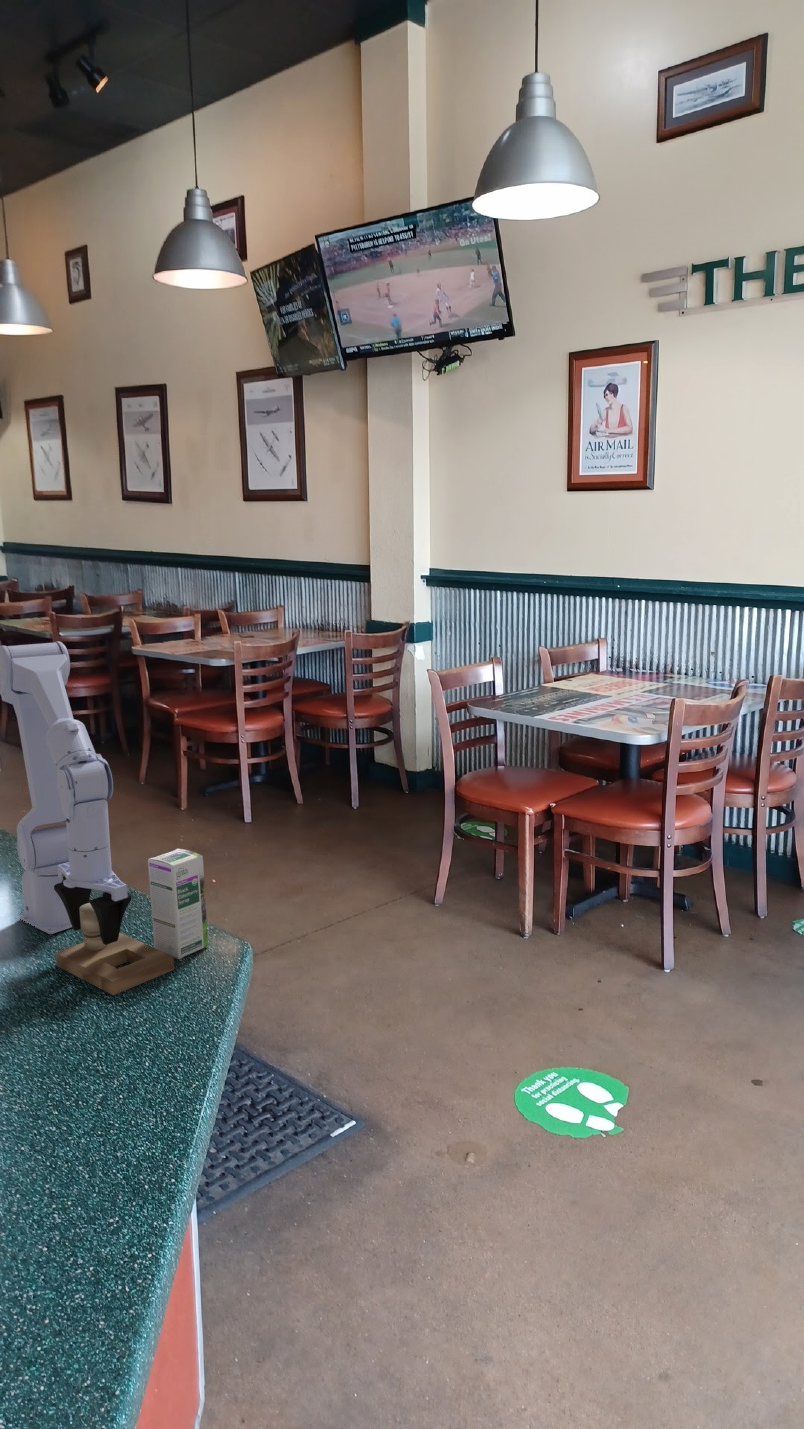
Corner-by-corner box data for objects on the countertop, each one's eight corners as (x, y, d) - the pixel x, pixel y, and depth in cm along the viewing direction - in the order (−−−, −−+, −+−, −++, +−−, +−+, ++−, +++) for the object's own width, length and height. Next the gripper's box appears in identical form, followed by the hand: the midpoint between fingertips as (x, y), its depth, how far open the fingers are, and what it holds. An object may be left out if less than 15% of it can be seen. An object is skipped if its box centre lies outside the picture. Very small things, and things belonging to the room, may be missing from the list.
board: (56, 965, 143) (55, 952, 143) (116, 943, 151) (115, 930, 151) (113, 995, 135) (112, 981, 134) (174, 969, 142) (173, 956, 142)
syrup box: (179, 960, 145) (173, 865, 142) (152, 950, 148) (147, 856, 146) (208, 947, 149) (204, 854, 147) (182, 937, 153) (177, 846, 150)
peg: (77, 946, 145) (74, 907, 144) (100, 938, 148) (97, 899, 147) (91, 954, 143) (89, 914, 141) (115, 945, 145) (112, 906, 144)
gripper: (35, 841, 144) (43, 930, 146) (93, 863, 135) (99, 958, 137) (79, 829, 149) (85, 915, 152) (137, 850, 140) (143, 941, 143)
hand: (95, 935), depth 145 cm, fingers open, 7 cm apart
